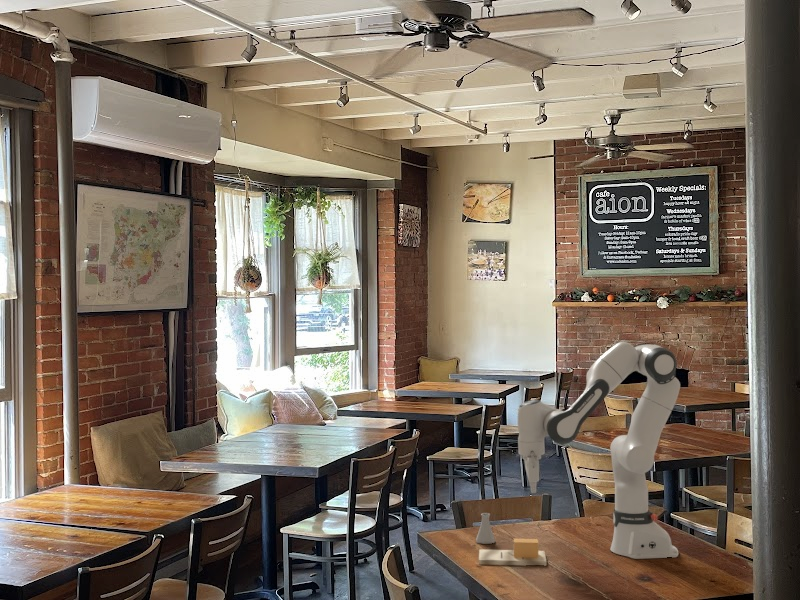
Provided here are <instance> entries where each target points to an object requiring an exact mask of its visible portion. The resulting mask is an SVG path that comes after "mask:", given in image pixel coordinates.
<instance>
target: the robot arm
mask: <svg viewBox="0 0 800 600" xmlns="http://www.w3.org/2000/svg"><path fill="white" fill-rule="evenodd" d="M676 371H677V358H676V357H675V355H674V353H673V352H672V351H671V350H670V349H668V348H666V347H663V346H660V345H658V344H650V343H639V344H636V345H633V344H631V343H629V342H627V341H619V342H617V343H615V344H613V346H611V347H610V348H608V349H607V350H606V351H605V352H603V354H601V355H600V356H599V357H598V358H597V359H596V360H595V361H594V362H593V364H591V366H590V368H588V370H587V371H586V376H585V377H586V378H585V379H586V380H585V381H586V386H585V388H584V390H583V392H582V394H581V395H580V396H579V397H578V398H577V399H576V400H575V401H574V402H573V403H572V405H570V407H569V408H568V409H566V410H561V409H558V408H555V407H552V406H550V405H547V404H545V403H544V402H542V401H541V400H539V399H538V400H537V399H531V400H526V401H524V402H522V403H520V404H519V406H518V409H517V430H518V437H517V447H518V455H520V456H521V458H522V459H523V460H524V461H523V462H524V468H525V472H526V476H527V480H528V485H529V488H530V492H531V494H536V493H537V484H538V483H539V481H540V463H539V462H540V461H539V460H541V459H542V455H545V454H546V453H545V451H546V450H545V448H546V447H545V438H546V437H549V438H550V439H551V440H552V441H553V442H554V443H556V444H559V445H567V444H569V443H572V442H573V441H574V440H575V439H576V438H577V436H578V434H579V433H580V429H581V428H582V425H583V423H584V422H585V421H586V420H587V419H588V418H589V416H590V415H591V414H592V413H593V412H594V411H595V410H596V409H597V407H598V406H599V405H601V403H602V402H603V401H604V400H605V398H606V397H608V395H609V394H610V393H612V391H613V392H614V390H615V389H616V388H617V387H618V386H620V384H621V383H622V382H623V381H624V380H625V379H626V378H627V377H628V376H630V375H631V374H632V373H633V372H637V373H638V374H641V375H643V376H645V377H646V378H647V379H646V381H647V383H646V387H645V390H644V391H643V393H642V395H641V397H640V399H639V401H638V403H637V405H636V407H635V409H634V411H633V412H632V415H631V419H630V425H629V428H628V432H627V434H621V435H618V436H616V437H615V438H614V439H613V440H612V442H611V443H610V447H609V451H610V456H611V457H610V458H611V466H612V467H611V468H612V474H613V482H614V509H613V514H612V515H613V517H612V518H613V519H612V521H613V526H614V528H613V536H612V537H613V538H612V541H611V546H610V547H609V549H610V551H611V552H613V554H617V555H619V556H620V555H621V556H623V557H627V558H630V559H635V560H636V559H638V560H639V559H643V560H644V559H663V558H664V559H665V558H666V559H667V557H672V558H677V557H679V550H678V548H677V547H676V546H674V545H672V539H671V537H670V536H671V535H670V534H669V532H668V531H666V530H665V529H664V528H663V527H662V526H660V525H659V524H657V522H656V521H657V520H658V516H657V514H655V513H654V512H653V511H651V510H649V485H648V483H647V479H646V473H648V472H649V471H650V470H652V468H653V466H654V463H655V455H656V452H657V449H658V445H659V441H660V438H661V434H662V431H663V429H664V428H665V425H666V423H667V421H668V419H669V418H670V415H671V413H672V411H673V409H674V407H675V405H676V402H677V400H678V396H679V394H680V389H681V382H680V381H679V379H678V378H677V377H676V375H677V374H676V373H677V372H676Z"/></svg>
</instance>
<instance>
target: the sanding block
mask: <svg viewBox="0 0 800 600" xmlns="http://www.w3.org/2000/svg"><path fill="white" fill-rule="evenodd" d="M513 550H514V557H524V558H538V551H539V540H538V538H513Z"/></svg>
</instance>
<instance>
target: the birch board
mask: <svg viewBox="0 0 800 600" xmlns="http://www.w3.org/2000/svg"><path fill="white" fill-rule="evenodd" d="M478 565H485V566H488V565H489V566H526V565H544V566H543V567H545V566H547V565H548V564H547V558H546V552H545V550H538V558H524V557H514V549H485V548H484V549H479V551H478Z"/></svg>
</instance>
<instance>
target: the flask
mask: <svg viewBox="0 0 800 600" xmlns="http://www.w3.org/2000/svg"><path fill="white" fill-rule="evenodd" d="M480 516H481V522H480V527H479V529H478V532H477V535H476V537H475V538H476V539H475V542H476V544H483V545H489V544H490V545H491V544H492V543H493V544H494V543H496V538H495V536H494V534H493V531H492V530H493V529H492V527H491V523H490V516H491V513H488V512H482V513H481V514H480Z"/></svg>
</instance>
